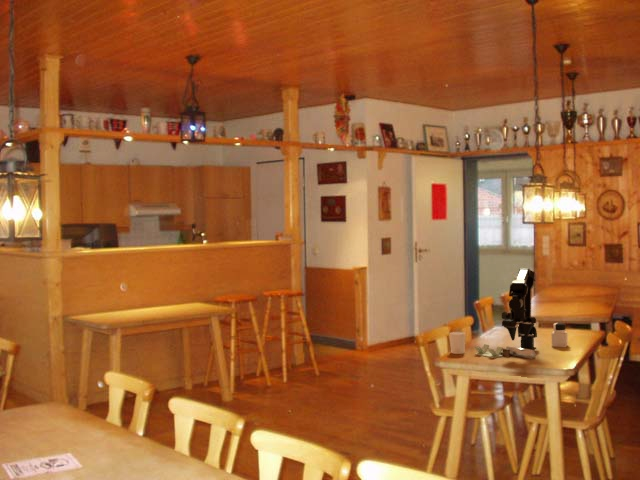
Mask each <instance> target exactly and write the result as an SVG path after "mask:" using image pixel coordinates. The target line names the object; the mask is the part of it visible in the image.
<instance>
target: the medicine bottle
mask: <svg viewBox="0 0 640 480" xmlns="http://www.w3.org/2000/svg"><path fill="white" fill-rule="evenodd" d="M567 346H568V331H566V324H565V323H563V322H554V323H553V331H552V332H551V347H552V348H567Z"/></svg>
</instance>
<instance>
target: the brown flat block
mask: <svg viewBox="0 0 640 480" xmlns="http://www.w3.org/2000/svg"><path fill="white" fill-rule="evenodd" d="M517 347H518V348H519V346H517ZM502 348H503V347H502ZM500 355H503V356H502V357H507V356H509V357H511V355H510V349H506V347H505V348H503V350H502V351H501V353H500Z"/></svg>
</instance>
